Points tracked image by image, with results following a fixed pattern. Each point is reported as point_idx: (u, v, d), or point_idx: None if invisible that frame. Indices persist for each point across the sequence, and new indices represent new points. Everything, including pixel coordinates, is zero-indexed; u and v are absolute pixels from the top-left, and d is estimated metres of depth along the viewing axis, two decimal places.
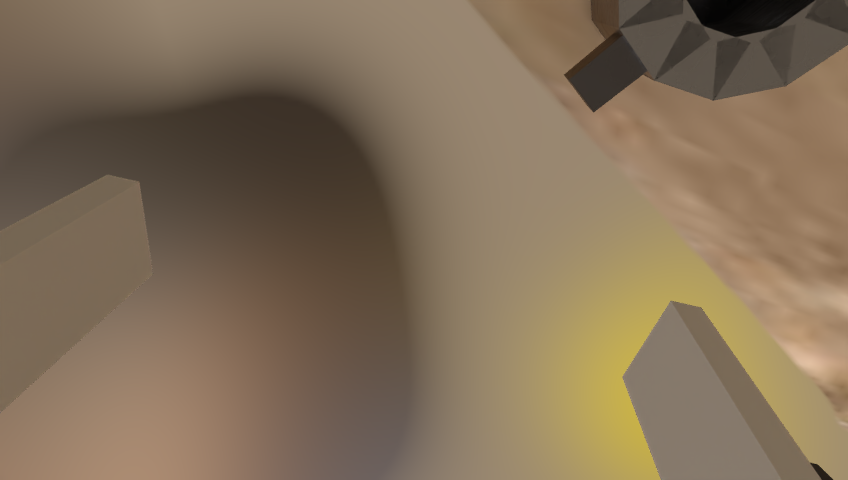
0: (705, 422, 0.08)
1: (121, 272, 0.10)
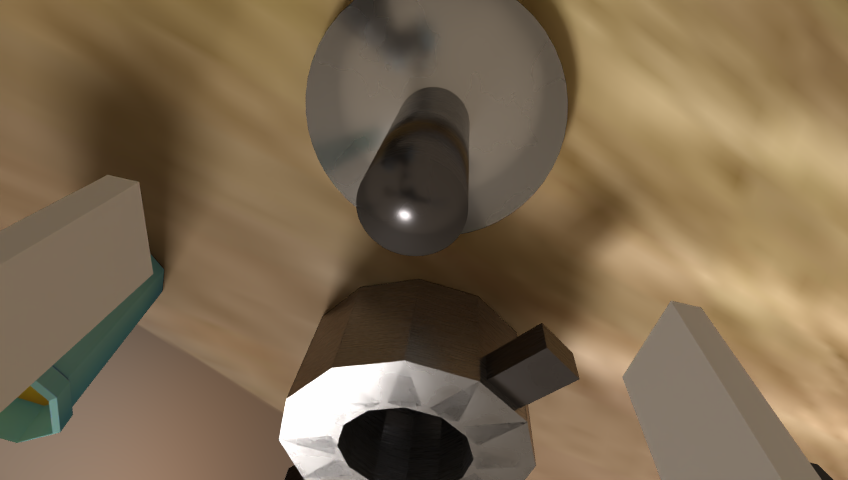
0: (706, 422, 0.08)
1: (121, 272, 0.10)
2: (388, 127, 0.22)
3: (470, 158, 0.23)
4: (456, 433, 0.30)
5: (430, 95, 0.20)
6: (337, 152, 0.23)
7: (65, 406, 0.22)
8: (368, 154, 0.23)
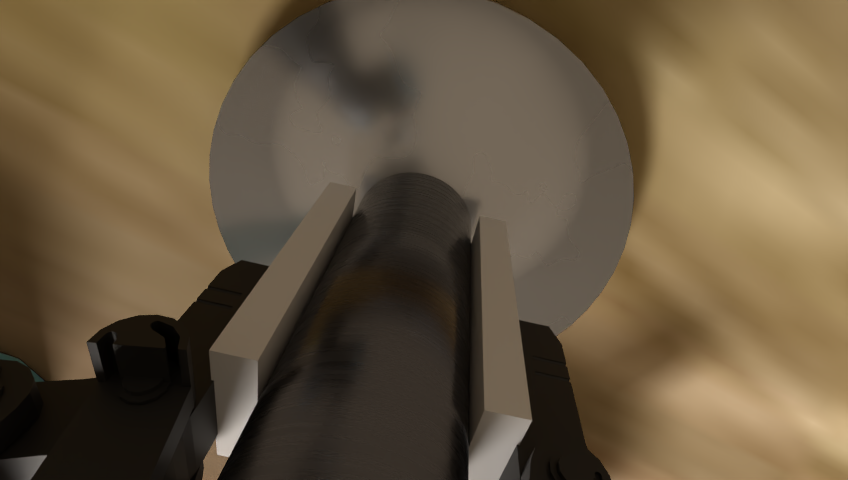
0: (471, 299, 0.10)
1: None
2: None
3: None
4: None
5: (403, 197, 0.11)
6: (267, 262, 0.15)
7: None
8: None
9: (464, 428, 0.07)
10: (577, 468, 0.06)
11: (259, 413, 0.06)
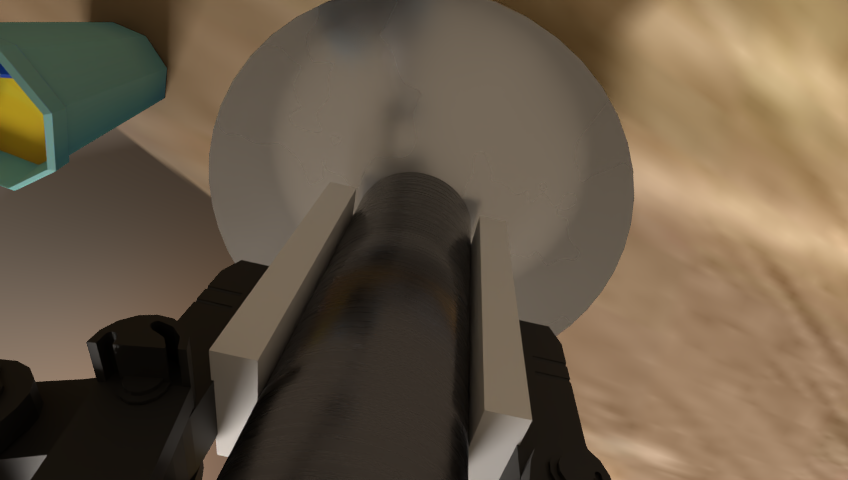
0: (472, 299, 0.10)
1: None
2: None
3: None
4: None
5: (403, 197, 0.11)
6: (267, 261, 0.15)
7: (61, 139, 0.20)
8: None
9: (464, 428, 0.07)
10: (577, 468, 0.06)
11: (258, 413, 0.06)
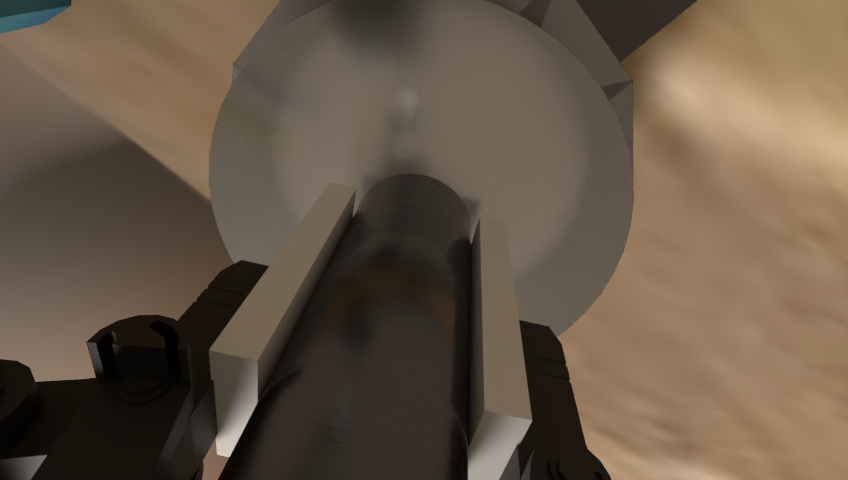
0: (472, 299, 0.10)
1: None
2: None
3: None
4: None
5: (403, 199, 0.11)
6: (266, 263, 0.15)
7: None
8: None
9: (463, 431, 0.07)
10: (577, 468, 0.06)
11: (258, 416, 0.06)
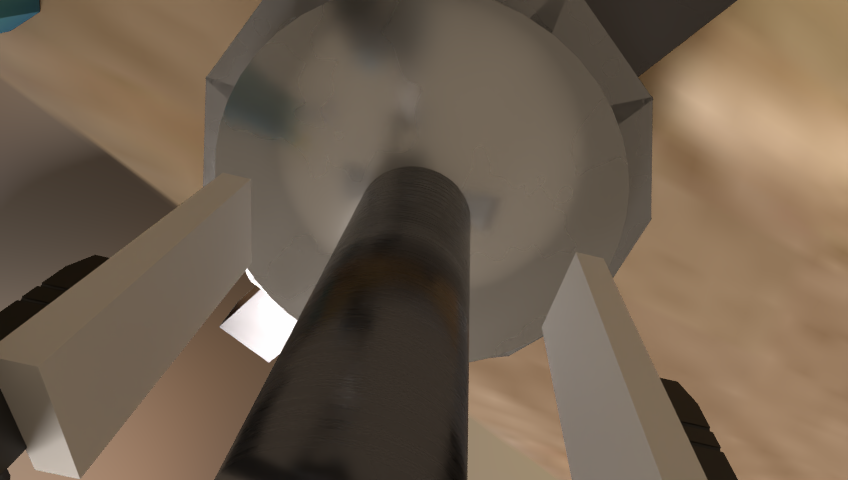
0: (587, 349, 0.10)
1: (234, 260, 0.12)
2: (345, 222, 0.14)
3: (472, 267, 0.15)
4: None
5: (405, 189, 0.12)
6: (271, 254, 0.15)
7: None
8: (316, 258, 0.15)
9: (463, 405, 0.07)
10: None
11: (268, 388, 0.07)
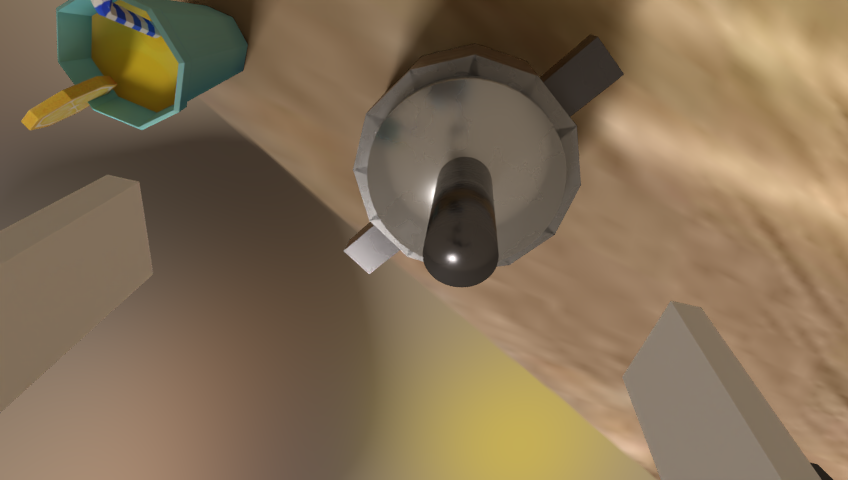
0: (705, 422, 0.08)
1: (121, 272, 0.10)
2: (429, 184, 0.29)
3: None
4: None
5: (465, 165, 0.26)
6: (389, 202, 0.30)
7: (185, 86, 0.26)
8: (412, 204, 0.30)
9: (496, 229, 0.22)
10: None
11: (437, 218, 0.21)
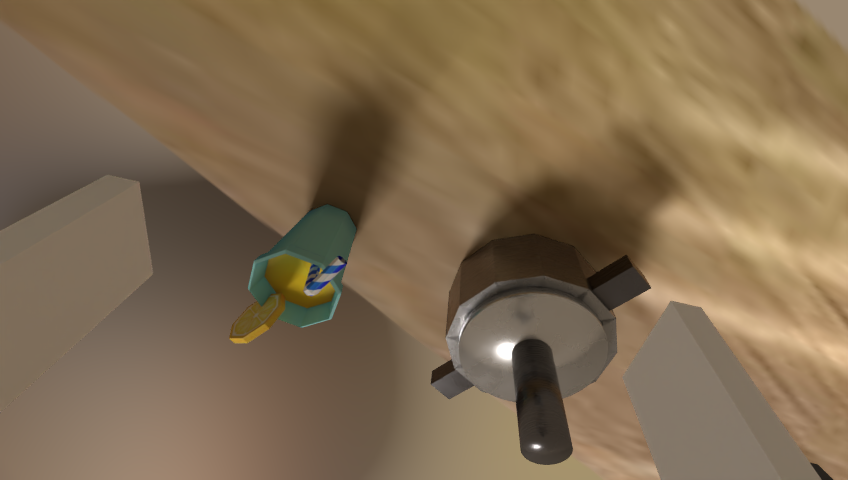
0: (706, 422, 0.08)
1: (121, 272, 0.10)
2: (505, 354, 0.39)
3: None
4: None
5: (536, 353, 0.37)
6: (473, 363, 0.40)
7: None
8: (491, 365, 0.40)
9: (567, 424, 0.32)
10: None
11: (529, 421, 0.32)
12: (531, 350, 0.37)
